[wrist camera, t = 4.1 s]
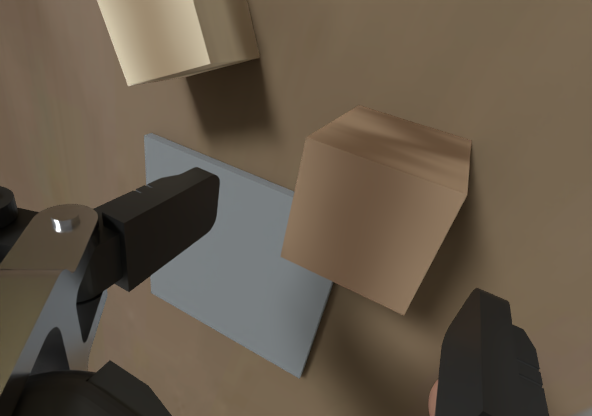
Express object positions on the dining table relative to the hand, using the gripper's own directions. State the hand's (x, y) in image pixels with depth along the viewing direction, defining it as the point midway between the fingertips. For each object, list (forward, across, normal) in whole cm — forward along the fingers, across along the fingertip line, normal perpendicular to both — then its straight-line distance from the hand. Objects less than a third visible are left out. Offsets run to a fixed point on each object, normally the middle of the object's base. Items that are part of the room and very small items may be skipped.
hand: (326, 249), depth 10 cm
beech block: (+8, +10, -4) cm, 14 cm away
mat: (+8, +7, +10) cm, 15 cm away
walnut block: (+8, -1, 0) cm, 8 cm away
